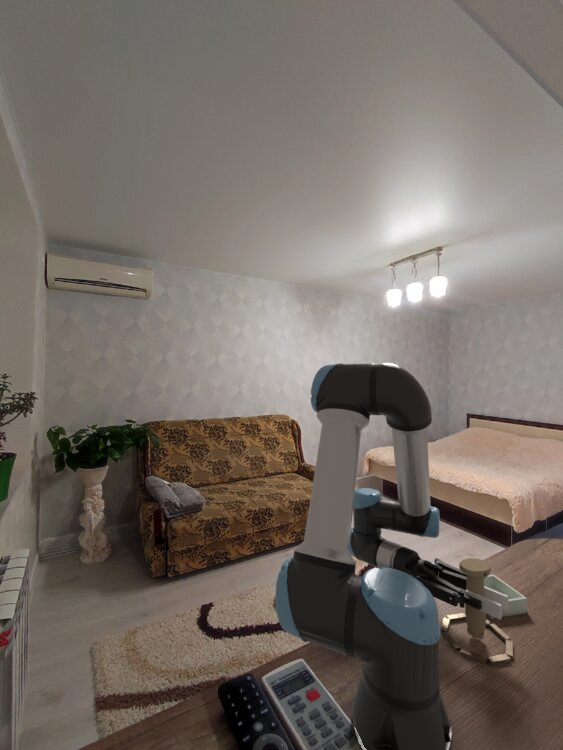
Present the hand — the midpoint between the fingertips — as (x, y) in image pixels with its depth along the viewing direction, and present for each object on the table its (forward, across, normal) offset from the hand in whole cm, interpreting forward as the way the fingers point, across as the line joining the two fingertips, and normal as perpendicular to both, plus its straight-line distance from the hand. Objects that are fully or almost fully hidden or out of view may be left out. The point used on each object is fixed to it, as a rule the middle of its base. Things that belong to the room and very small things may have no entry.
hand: (504, 607), depth 69 cm
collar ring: (-5, 0, -10) cm, 11 cm away
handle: (-5, 0, -9) cm, 10 cm away
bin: (-7, -16, -9) cm, 20 cm away
